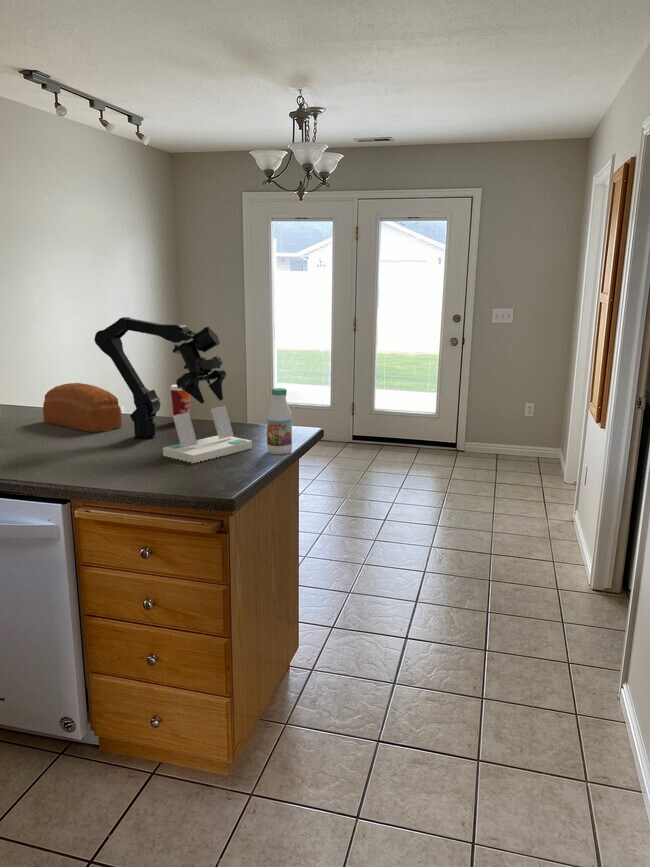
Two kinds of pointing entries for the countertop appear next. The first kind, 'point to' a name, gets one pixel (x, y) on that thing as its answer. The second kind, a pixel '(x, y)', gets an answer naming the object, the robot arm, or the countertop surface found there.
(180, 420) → the left lever
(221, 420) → the right lever
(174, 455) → the switch panel
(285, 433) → the milk bottle
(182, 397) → the paper cup
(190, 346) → the robot arm
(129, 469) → the countertop surface
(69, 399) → the bread
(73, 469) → the countertop surface
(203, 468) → the countertop surface
